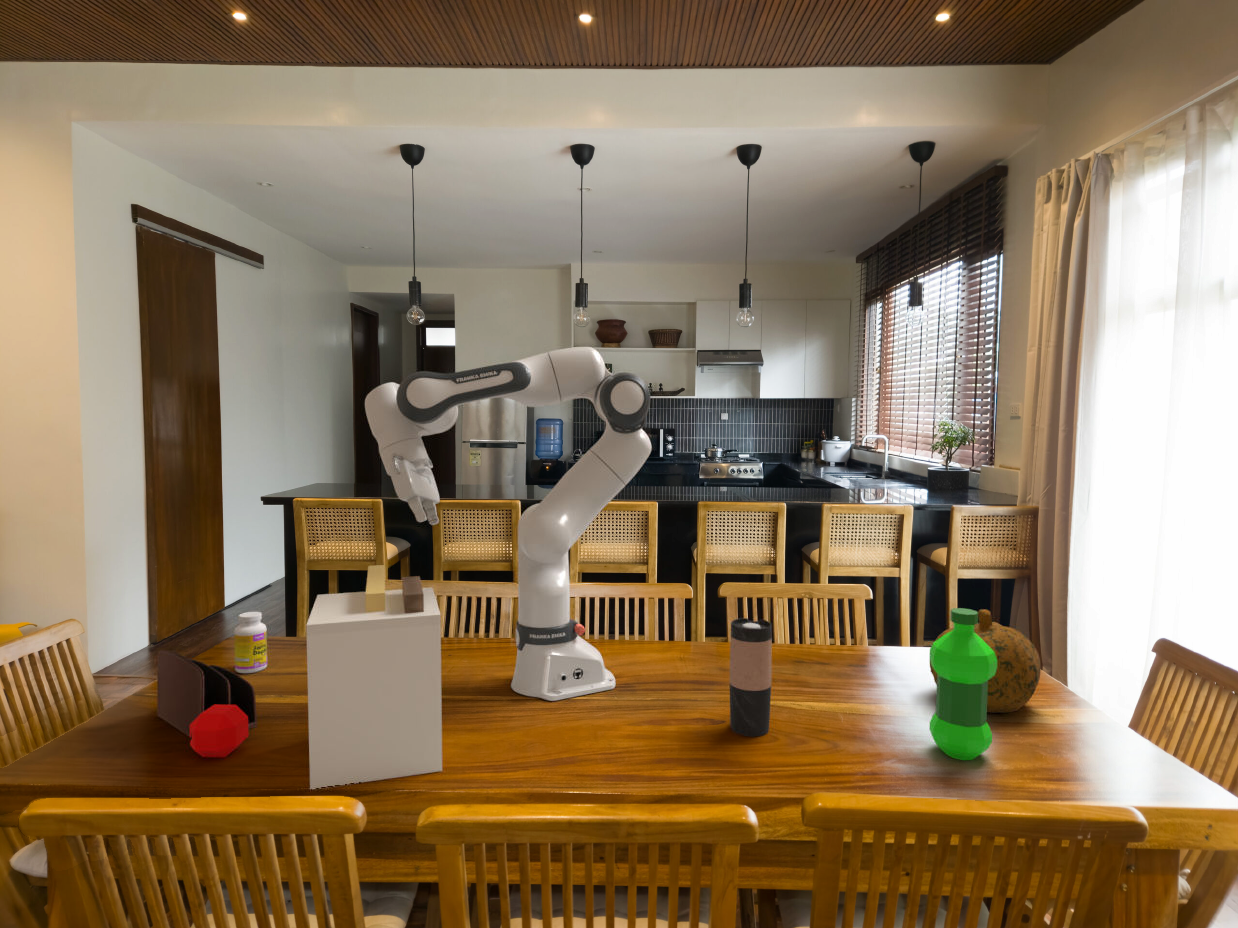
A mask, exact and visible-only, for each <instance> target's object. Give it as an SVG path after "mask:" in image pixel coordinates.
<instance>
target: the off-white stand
mask: <svg viewBox="0 0 1238 928" xmlns="http://www.w3.org/2000/svg"><path fill="white" fill-rule="evenodd" d="M422 589H423V594H424V612H416V613H405V612H404V603H403V593H402V588H401V589H399V588H398V589H385V611H378V612H366V591H356V592H354V591H353V592H343V593H341V592H339V593H325V594H324V593H323V594H317V595H316V598H315V601H314V604H313V607H312V608H311V611H310V614H309V617H308V619H307V621H306V622H307V623H306V624H305V625H306V663H307V665H306V667H307V668H306V669H307V705H308V706H307V707H308V708H307V710H308V711H307V714H308V718H307V719H308V749H309V750H308V751H309V755H308V756H309V758H308V759H309V761H308V762H309V790H310V791H311V789H312V790H317V789H316V788H319V789H322V788H321V787H326V788H328V787H327V786H333V787H336V786H335V785H340V786H346V785H345V784H347V785H351V784H350V783H354V784H359V782H361V783H366V782H367V783H368V782H373V781H375V782H376V781H381V780H387V779H395V778H396V779H397V778H401V777H410V776H417V775H423V774H430V773H436V772H443V727H442V726H443V724H442V723H443V719H442V717H443V715H442V714H443V713H442V712H443V711H442V708H443V707H442V705H443V704H442V643H441V642H442V638H441V637H442V636H441V635H442V633H441V632H442V631H441V627H442V625H441V624H442V623H441V622H442V621H441V620H442V619H441V616H442V615H441V611H440V607H439V605H438V601H437V598H436V595H435V592H434V588H433V587H432V586H431V587H422Z"/></svg>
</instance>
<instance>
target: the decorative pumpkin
mask: <svg viewBox="0 0 1238 928" xmlns="http://www.w3.org/2000/svg"><path fill="white" fill-rule="evenodd" d="M977 612H978V624H976V625H974V632H975V633H976V634H977V635H978V636H979V637H980V638H981V639H982V640H983V641H984V642H985V643H986V644H987V645H988V646H989V647H990V648H991V649H992V650H993V651H994V652H995V655H996V658H997V669H996V673H995V675H994V676H993V677H992V678H990V679H989V680H988V692H987V713H1005V714H1007V713H1011V712H1017V711H1018V710H1019V709H1021V708H1022V707H1024V706H1025V705H1026V704H1028V703H1029V701H1030V700H1031V698H1032V697H1033V696H1034V694H1035V692H1036V689H1037V688H1038V685H1039V683H1040V678H1041V658H1040V655H1039V652H1038V650H1037V648H1036V647H1035V645H1034V644H1033V642H1032V641H1031V640H1030V639H1029V638H1028V637H1027V636H1026V635H1025V634H1023V633H1022V632H1021V631H1020V630H1018V629H1015V628H1013V627H1009V626H1006V625H1005V626H1003V625H1002V624H1000V623H998V622H996V621H992V615H991V611H990V610H988V609H983V608H981V609H979V610H978V611H977ZM952 630H953V627H951V628H948V629H946V630H944V631H942V632H941V633H940V634H939V635H938V636H937V638H936V639H935V641H937V640H938V639H939V638H941V637H942V636H943V635H945V634H947V633H948V632H950V631H952ZM935 641H934V642H935ZM929 669H930V672H931V675H932V677H933V680H934V683H935V685H936V686H937V673H936V671H935V670H934V669H933V667H932V665H931V662H930V661H929Z"/></svg>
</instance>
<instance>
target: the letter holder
mask: <svg viewBox="0 0 1238 928" xmlns="http://www.w3.org/2000/svg"><path fill="white" fill-rule="evenodd" d="M156 683H157V685H156V687H157V688H156V690H157V691H156V692H157V693H156V694H157V697H156V698H157V699H156V700H157V701H156V703H157V707H156V713H157V715H156V716H157V717H158V718H160V719H162V720H164V721H165V722H167V723H168V724H169V725H171V726H172V727H174V728H175V729H176V730H178V731H180V732H181V733H182V734H184V735H186V736H187V737H189V738H190V724H191V723H192V722H193V721H194V720H195V719H196V718H197V717H198V716H199V715H200V714H201V713H202V712H204V711H205V710H207V709H208V708H210V707H211V706H213V705H214V704H219V705H237V706H238V707H239V708H240V709H241V710H242V711H243V712H244V713H245V714H246V715H247V716H248V730H252V729H255V728H257V726H258V725H257V724H258V722H257V720H258V719H257V717H258V716H257V705H256V703H257V702H256V691H255V688H254V686H253V685H252V684H251V683H250V682H249V681H248V680H246V679H245V678H243V677H242V676H240V675H239V674H237V673H235V672H234V671H232V670H229V669H227V668H225V667H222V666H220V665H215V664H214V665H213V664H210V665H209V664H206V663H204V662H201V660H200V661H199V660H196V659H191V658H187V657H185V656H184V655H182V654H179V653H178V652H174V651H171V650H166V649H162V650H159V651H158V652H157V681H156Z"/></svg>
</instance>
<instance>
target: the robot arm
mask: <svg viewBox="0 0 1238 928" xmlns="http://www.w3.org/2000/svg"><path fill="white" fill-rule="evenodd" d="M605 364H606V363H605V361H604V358H603V357H602V355H601V354H600V353H599V351H598V350H596V349H595V348H593V347H591V346H575V347H567V348H561V349H555V350H550V351H547V352H543V353H539V354H535V355H532V356H529V357H524V358H520V359H517V360H513V361H509V362H505V363H500V364H499V363H498V364H493V365H486V366H483V367H482V366H481V367H477V368H471V369H467V370H463V371H456V372H450V373H449V372H447V373H443V372H442V373H441V372H433V371H427V370H422V371H417V372H413V373H411V374H410V375H407V376H406V377H405V378H404V379H403V380H402V381H401V382H400V384H399V383H397V382H386V383H382V384H380V385H377V386H375V387H374V388H373V389H372V390H371V391H370V392H369V393H367V394H366V397H365V399H364V409H365V414H366V418H367V422H368V424H369V428H370V430H371V433H372V436H373V437H374V438H375V440H376V442H377V444H378V453H379V455H380V456H379V457H380V458H381V461H382V463H383V466H384V469H385V471H386V474H387V475H388V476H390V478H391V482H392V484H393V487H394V491H395V493H396V496H397V497H398V499H399V500H401V501H403V502H406V503H407V504H408V507H409V508H410V509H411V511H412V513H413V514H414V517H415V520H416V522H418V523H422V522H425V521H428V523H429V524H430V525H431V526H435V525H437V524H439V522H440V520H439V517H438V513H437V507H436V505H437V504H439V503H440V502H441V501H440V499H441V498H440V493H439V490H438V487H437V486H438V485H437V483H436V480H435V476H434V474H433V471H432V468H434V467H433V463H432V460H431V459H430V457H429V454H428V453H427V450H426V447H425V444H424V441H423V439H422V437H426V436H427V437H428V436H433V435H438V434H442V433H445V432H447V431H449V430H450V429H452V427H454V426H455V424H456V423H457V421H458V418H459V412H460V411H459V406H460V405H467V404H471V403H475V402H476V403H477V402H480V401H485V400H488V399H489V400H490V399H495V398H498V399H499V398H503V399H510V400H513V401H515V402H518V403H519V404H522V405H524V406H526V407H528V408H539V407H540V408H541V407H548V406H552V405H553V406H554V405H556V404H561V403H564V402H568V401H571V400H577V399H586V400H587V402H588V403H589V405H590V406H591V408H592V409H593V411H594V413H595V415H596V416H597V417H598V418H599V419H600V420H601V421H602V422H604V423H605V428H604V432H603V434H602V435H601V437H600V438H599V439H598V441H597V442H595V443H594V444H593V446H591V447H590V448H589V449H588V450H587V451H586V453H584V454H583V455H582V456H581V457H580V458H579V459H578V460H577V462H575V464H573V466H572V467H571V468H570V469H568V471H566V472H565V473H564V475H563V476H562V477H561V478H560V479H559V480H558V482H557V483H556V484H555V485H554V487H553V488H552V489H551V490H550V491H549V492H548V494H547V495H546V496H545V497H544V498H543V499H542V500H541V501H540V502H539V503H535V504H532V505H531V506H529V507H527V508H526V510H524V511H523V513H522V514H521V515H520V518H519V520H518V524H517V562H518V563H517V571H518V572H517V575H518V576H517V577H518V578H517V584H518V585H517V586H518V587H517V590H518V591H517V592H518V593H517V594H518V600H517V601H518V606H517V607H518V611H517V612H518V614H517V615H518V620H517V621H516V625H515V626H516V627H515V645H516V648H517V653H516V659H515V660H516V661H515V668H514V671H513V672H514V673H513V677H512V681H511V684H510V688H511V689H512V690H513V691H514V692H516V693H517V694H520V695H523V696H526V697H532V698H540V699H543V700H545V701H551V702H554V701H561V700H564V699H570V698H575V697H579V696H584V695H589V694H594V693H598V692H604V691H610V690H613V689H614V688H615V687H616V678H615V676H614V674H613V673H612V672H611V671H610V670H608V669H607V668H606V667H605V662H604V659H603V657H602V654H601V652H600V651H599V650H598V649H597V648H596V647H595V646H593V645H592V644H591V643H590V642H587V641H586V640H585V639H584V638H583V637H581V636H582V635H584V633H585V632H586V629H585V627H584V625H582V624H581V623H579V622H578V621H576V620H574V619H572V618H571V613H570V611H571V610H570V609H571V608H570V607H571V606H570V605H571V604H570V603H571V602H570V601H571V598H570V597H571V594H570V591H571V590H570V589H571V588H570V587H571V585H570V584H571V582H570V563H569V562H570V561H569V550H570V549H571V548H572V546H574V544H576V542H577V541H578V540H579V538H580V537H581V536H582V535H583V534H584V533H585V532H586V530H587V529H588V527H590V525H591V524H592V522H593V521H595V520H594V519H596V518H597V516H598V515H599V514H600V513H601V512H602V510H603V509H604V508H605V507H606V506H607V505H608V504H609V503H610V502H611V501H612V500H613V499H614V498H615V497H616V496H617V495H619V493H620V492H621V491H622V490H623V489H624V488H625V487H626V486H627V485H628V484H629V482H630V481H631V480H632V479H633V478H634V477H635V476H636V475H637V473H638V472H640V469H641V468H642V467H643V465H644V464H645V462H646V461H647V459H648V458H649V456H650V454H651V452H652V448H653V447H652V443H651V439H650V438H649V436H648V434H647V433H646V431H645V430H643V428H644V427H645V423H646V419H647V416H648V413H649V409H650V405H651V392H650V389H649V386H648V384H647V383H646V381H644V380H643V379H642V378H641V377H640V376H639V375H637V374H635V373H631V372H619V373H612V372H610V371H609V370H608V369H607V367H606V365H605Z"/></svg>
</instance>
